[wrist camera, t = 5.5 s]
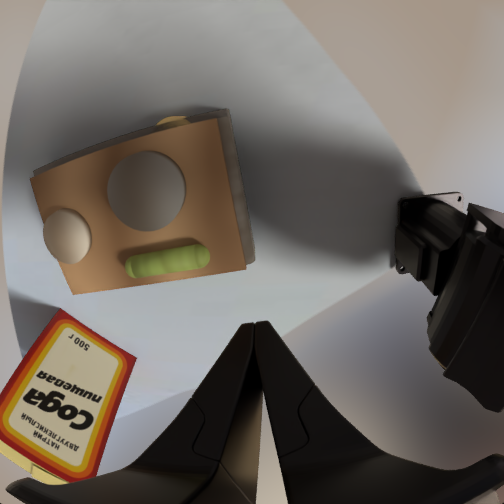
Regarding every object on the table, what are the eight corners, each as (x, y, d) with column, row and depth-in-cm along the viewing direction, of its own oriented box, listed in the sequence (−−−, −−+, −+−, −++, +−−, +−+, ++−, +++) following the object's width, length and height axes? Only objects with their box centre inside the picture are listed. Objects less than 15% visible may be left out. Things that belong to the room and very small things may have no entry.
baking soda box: (50, 341, 27) (-12, 447, 13) (60, 308, 25) (-20, 429, 11) (117, 384, 30) (77, 501, 15) (137, 357, 28) (90, 496, 13)
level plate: (229, 116, 16) (225, 115, 13) (255, 254, 20) (256, 279, 17) (44, 172, 17) (17, 184, 14) (83, 282, 21) (64, 305, 18)
